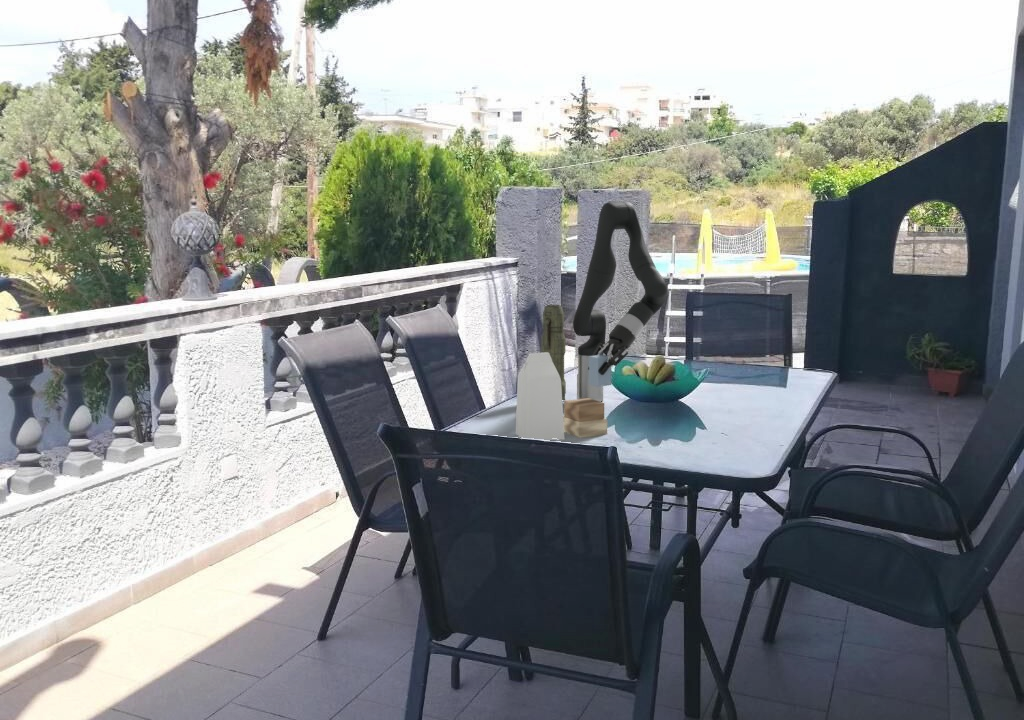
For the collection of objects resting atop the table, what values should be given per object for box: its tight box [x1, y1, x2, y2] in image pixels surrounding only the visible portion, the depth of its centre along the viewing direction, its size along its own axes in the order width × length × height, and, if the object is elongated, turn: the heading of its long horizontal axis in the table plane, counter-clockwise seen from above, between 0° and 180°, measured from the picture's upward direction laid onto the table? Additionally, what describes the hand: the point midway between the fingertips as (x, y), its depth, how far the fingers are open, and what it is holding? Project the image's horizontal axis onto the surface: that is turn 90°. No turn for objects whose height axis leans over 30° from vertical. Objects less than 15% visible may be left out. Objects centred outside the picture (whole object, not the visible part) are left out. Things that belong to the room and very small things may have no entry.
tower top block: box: [563, 398, 605, 422], centre depth 281 cm, size 9×9×5 cm
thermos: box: [540, 304, 567, 401], centre depth 329 cm, size 9×12×35 cm
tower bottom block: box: [563, 415, 608, 439], centre depth 281 cm, size 10×10×5 cm
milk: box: [515, 352, 565, 441], centre depth 275 cm, size 12×12×26 cm
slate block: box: [589, 354, 612, 387], centre depth 284 cm, size 5×5×9 cm
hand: (595, 371), depth 283 cm, fingers closed on slate block, 5 cm apart
